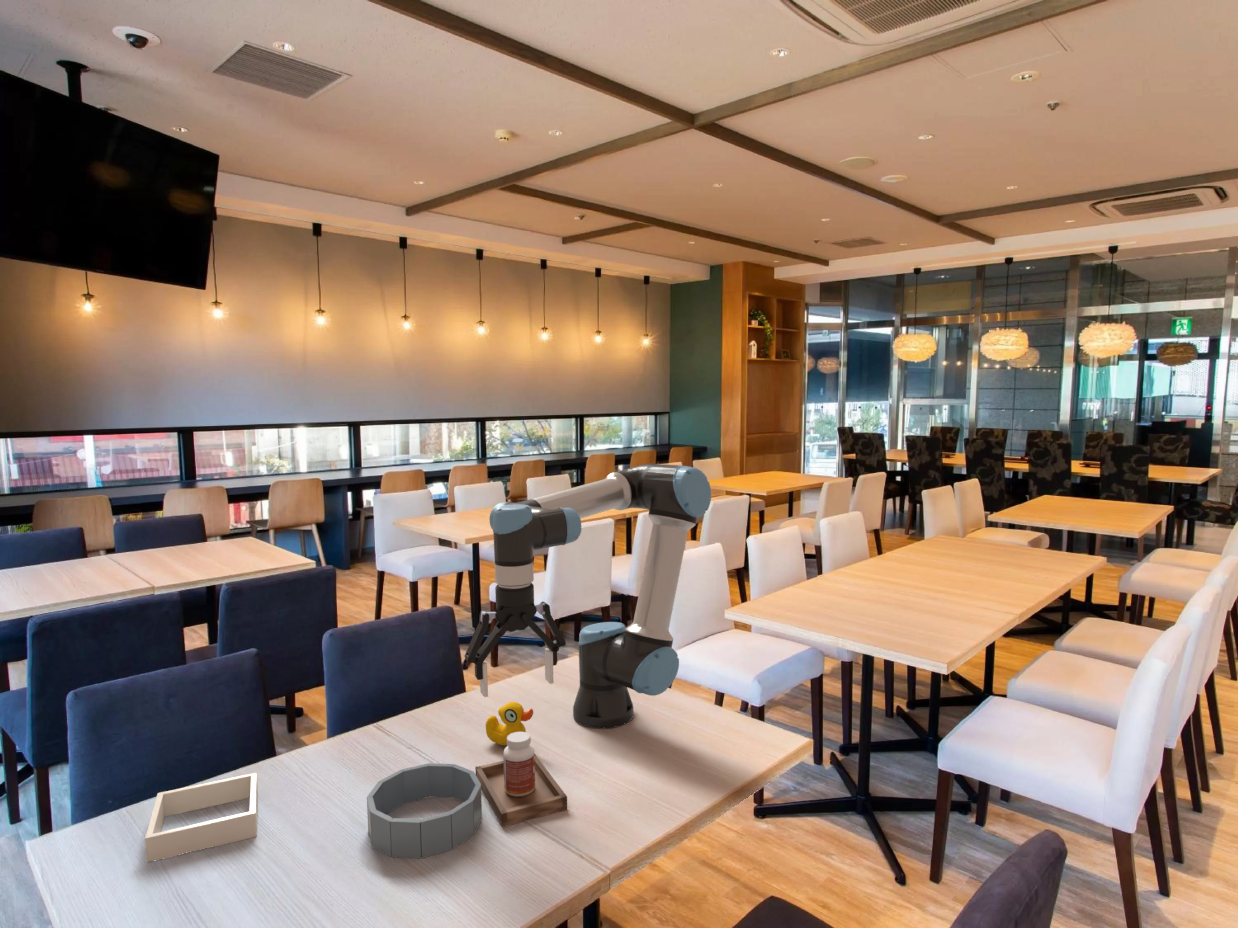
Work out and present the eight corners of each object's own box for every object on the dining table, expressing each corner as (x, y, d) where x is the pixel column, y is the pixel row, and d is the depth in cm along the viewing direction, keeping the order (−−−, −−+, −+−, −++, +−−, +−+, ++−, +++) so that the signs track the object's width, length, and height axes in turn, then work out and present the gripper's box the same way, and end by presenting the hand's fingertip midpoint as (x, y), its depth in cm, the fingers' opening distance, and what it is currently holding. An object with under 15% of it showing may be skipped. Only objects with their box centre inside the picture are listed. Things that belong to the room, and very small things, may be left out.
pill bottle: (540, 791, 144) (539, 738, 143) (512, 801, 141) (511, 746, 140) (526, 778, 149) (525, 726, 148) (499, 787, 146) (498, 734, 145)
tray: (534, 764, 156) (534, 753, 156) (567, 809, 139) (567, 796, 139) (475, 778, 151) (475, 767, 150) (502, 826, 134) (501, 813, 133)
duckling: (537, 740, 167) (536, 699, 166) (530, 752, 162) (529, 709, 161) (491, 737, 169) (489, 696, 168) (482, 748, 164) (481, 705, 163)
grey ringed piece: (465, 785, 148) (464, 754, 148) (492, 837, 130) (491, 803, 130) (363, 810, 140) (362, 778, 139) (377, 870, 122) (375, 833, 121)
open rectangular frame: (258, 793, 146) (256, 772, 145) (256, 836, 132) (255, 812, 131) (159, 815, 139) (157, 792, 138) (146, 862, 124) (144, 838, 124)
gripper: (565, 571, 151) (568, 669, 153) (446, 587, 140) (450, 692, 142) (580, 579, 144) (582, 682, 146) (456, 596, 133) (460, 707, 135)
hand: (517, 687), depth 144 cm, fingers open, 13 cm apart
